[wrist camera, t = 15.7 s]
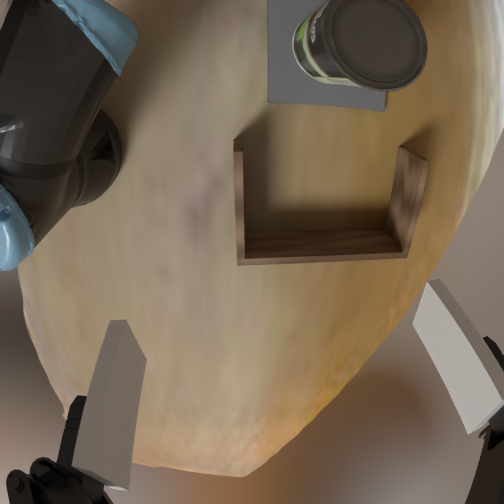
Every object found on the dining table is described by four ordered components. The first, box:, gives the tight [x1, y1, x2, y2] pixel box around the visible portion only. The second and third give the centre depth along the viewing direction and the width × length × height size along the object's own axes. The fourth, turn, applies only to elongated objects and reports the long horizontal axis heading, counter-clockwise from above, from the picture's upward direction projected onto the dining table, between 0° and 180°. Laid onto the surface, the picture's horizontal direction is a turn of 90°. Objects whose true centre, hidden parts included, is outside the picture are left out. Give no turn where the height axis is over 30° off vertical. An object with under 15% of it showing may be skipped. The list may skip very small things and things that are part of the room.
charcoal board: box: [267, 0, 386, 112], centre depth 31 cm, size 16×16×1 cm
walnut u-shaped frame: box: [234, 140, 429, 266], centre depth 39 cm, size 15×25×7 cm, turn 90°
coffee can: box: [292, 0, 427, 92], centre depth 25 cm, size 10×10×14 cm
